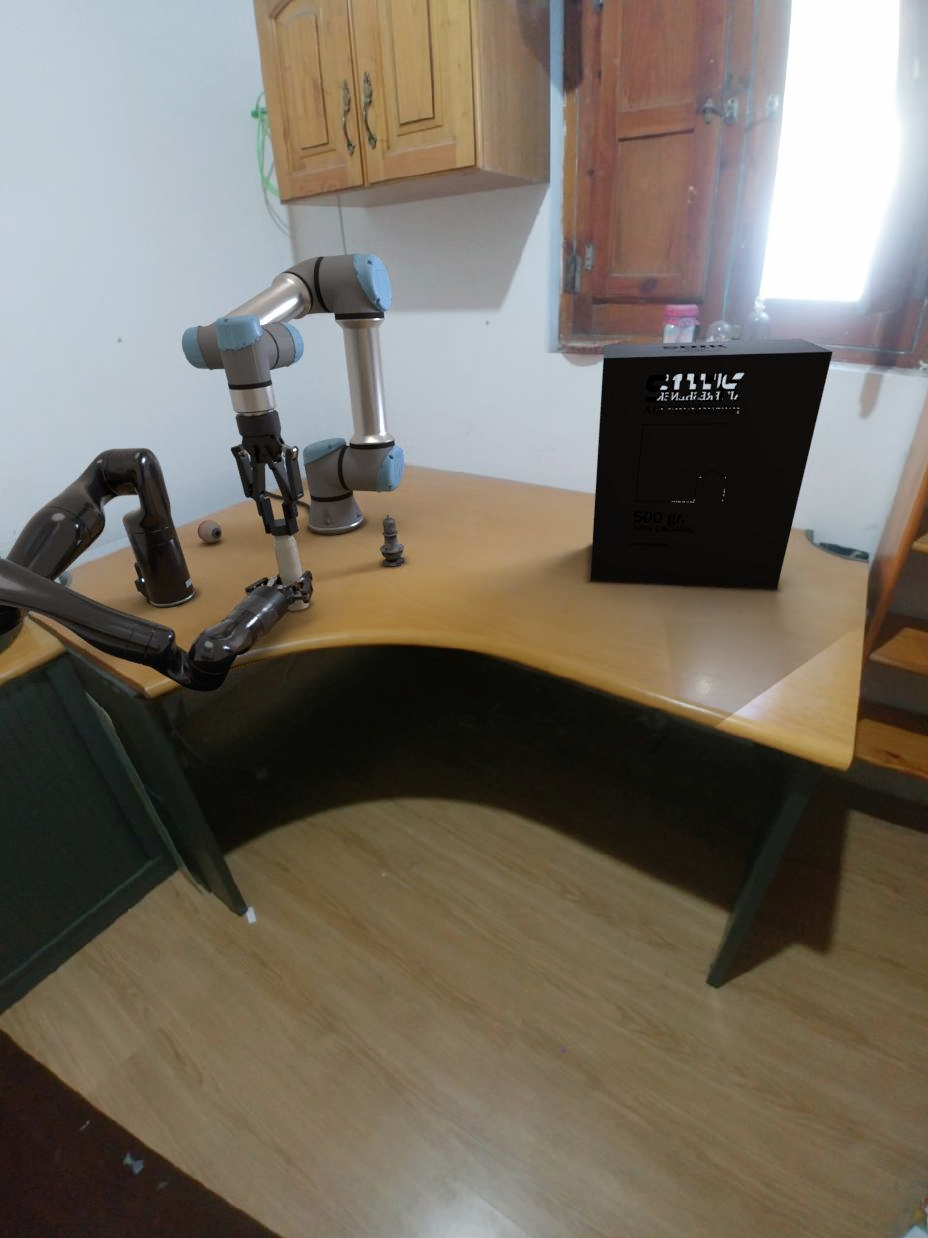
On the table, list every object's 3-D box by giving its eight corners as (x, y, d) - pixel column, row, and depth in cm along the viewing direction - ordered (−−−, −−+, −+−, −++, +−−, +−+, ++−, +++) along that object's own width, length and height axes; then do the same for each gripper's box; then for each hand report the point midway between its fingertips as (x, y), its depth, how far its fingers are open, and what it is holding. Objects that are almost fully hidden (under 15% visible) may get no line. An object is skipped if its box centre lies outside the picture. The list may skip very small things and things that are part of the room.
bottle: (302, 611, 126) (284, 528, 117) (283, 610, 127) (264, 527, 118) (312, 601, 130) (296, 520, 121) (293, 599, 131) (276, 519, 122)
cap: (286, 537, 118) (284, 526, 117) (266, 535, 119) (264, 525, 118) (297, 528, 122) (295, 518, 121) (278, 527, 123) (276, 517, 122)
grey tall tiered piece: (401, 567, 143) (396, 519, 137) (378, 566, 144) (371, 518, 138) (408, 556, 148) (403, 510, 142) (385, 556, 149) (379, 509, 143)
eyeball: (211, 547, 159) (205, 526, 156) (196, 543, 162) (190, 522, 159) (229, 539, 163) (224, 518, 160) (214, 536, 166) (209, 515, 164)
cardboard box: (756, 549, 141) (800, 338, 118) (776, 589, 124) (832, 351, 101) (592, 544, 148) (604, 344, 126) (590, 580, 131) (603, 357, 109)
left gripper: (229, 627, 117) (271, 587, 131) (296, 632, 114) (332, 591, 128) (219, 593, 113) (264, 556, 128) (289, 598, 110) (326, 559, 125)
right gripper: (309, 407, 109) (330, 528, 121) (229, 406, 114) (256, 522, 126) (286, 416, 103) (310, 543, 115) (202, 414, 108) (234, 536, 120)
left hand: (298, 574), depth 128 cm, fingers closed on bottle, 4 cm apart
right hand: (282, 532), depth 120 cm, fingers open, 4 cm apart
